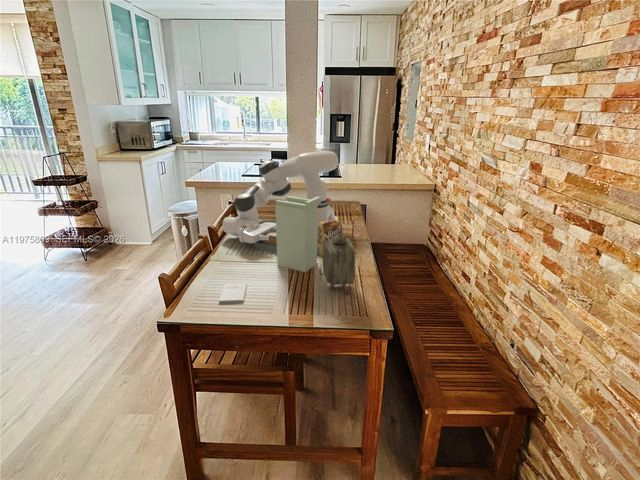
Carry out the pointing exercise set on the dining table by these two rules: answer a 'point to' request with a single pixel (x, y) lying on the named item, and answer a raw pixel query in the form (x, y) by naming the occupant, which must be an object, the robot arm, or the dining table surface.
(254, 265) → the dining table surface
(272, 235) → the slim box
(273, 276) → the dining table surface
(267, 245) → the grey board
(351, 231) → the dining table surface
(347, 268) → the grey-green rolling suitcase
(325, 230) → the candy box
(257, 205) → the robot arm
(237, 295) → the external hard drive
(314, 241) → the shelf block
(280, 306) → the dining table surface
